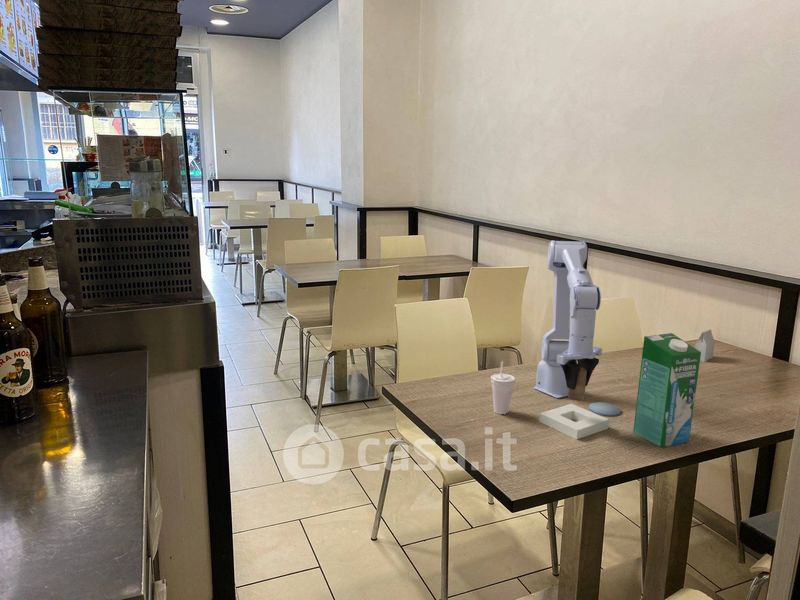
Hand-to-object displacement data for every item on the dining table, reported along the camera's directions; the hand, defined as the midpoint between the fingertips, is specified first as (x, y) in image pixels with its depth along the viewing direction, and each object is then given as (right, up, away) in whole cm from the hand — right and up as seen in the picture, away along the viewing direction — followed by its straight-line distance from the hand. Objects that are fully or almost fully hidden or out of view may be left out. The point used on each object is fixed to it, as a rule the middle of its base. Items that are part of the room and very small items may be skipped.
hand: (576, 386), depth 151 cm
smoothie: (-17, -8, +10) cm, 22 cm away
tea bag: (+61, +1, +59) cm, 85 cm away
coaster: (+11, -8, +12) cm, 18 cm away
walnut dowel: (0, -3, +1) cm, 3 cm away
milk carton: (+20, -12, -3) cm, 23 cm away
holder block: (0, -10, +2) cm, 10 cm away
